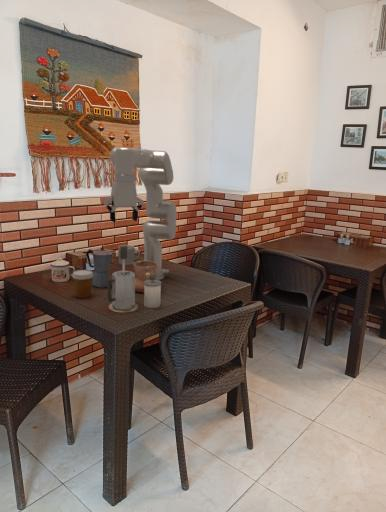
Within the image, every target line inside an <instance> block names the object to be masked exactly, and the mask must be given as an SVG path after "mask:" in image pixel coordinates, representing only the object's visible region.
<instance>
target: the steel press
mask: <svg viewBox="0 0 386 512" xmlns="http://www.w3.org/2000/svg"><path fill="white" fill-rule="evenodd" d="M122 274H123V270H118V271H114V272H113V273H112V274H111V279H109V280H107V287H106V288H107V302H108V303H111V304H112V308H113V309H115V310H119V311H127V310H131V309H133V308H134V307H135V303H136V297H135V296H136V291H135V279H136V273H135V272H134V271H130V270H125V275H122Z"/></svg>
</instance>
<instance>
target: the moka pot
mask: <svg viewBox="0 0 386 512" xmlns="http://www.w3.org/2000/svg"><path fill="white" fill-rule="evenodd" d="M104 249H105V247H104V246H103V247H100V249H99V250H94V249H88V250H87V251H86V254H85V255H86V258H87V262H88V266H89V268H93V269H94V272H93V277H92V287H95V288H107V280H110V264H111V261H112V260H113V257H115V255H114V254H113V252H112V251H111V250H104ZM90 254H91V255H92V260H93V265H92V263H91V258H90Z"/></svg>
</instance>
